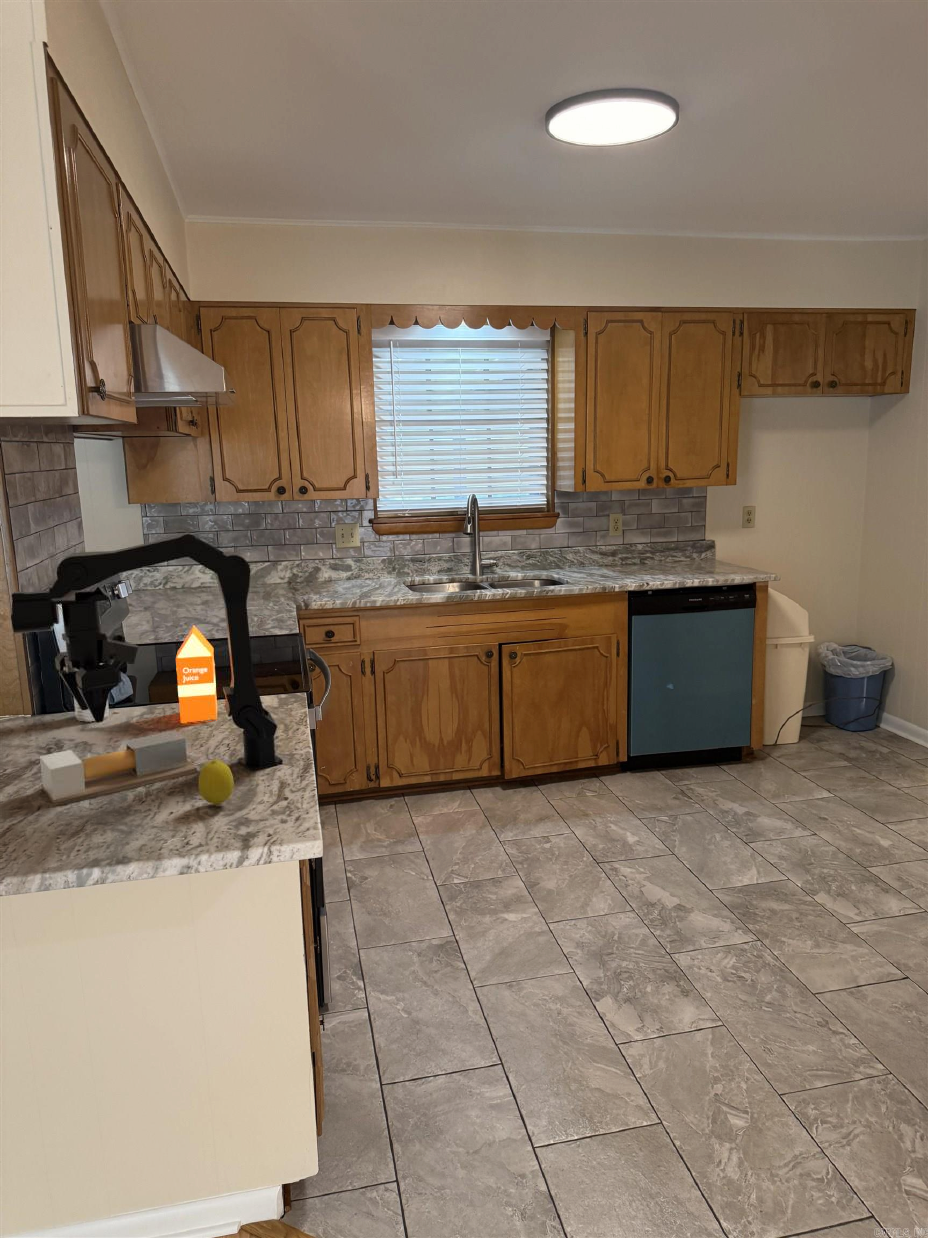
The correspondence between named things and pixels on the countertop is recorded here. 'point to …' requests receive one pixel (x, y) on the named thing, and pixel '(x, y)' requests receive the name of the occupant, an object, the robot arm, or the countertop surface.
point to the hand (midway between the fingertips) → (92, 715)
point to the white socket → (62, 774)
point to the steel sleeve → (158, 753)
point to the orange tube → (108, 763)
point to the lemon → (215, 782)
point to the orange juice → (196, 679)
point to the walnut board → (120, 783)
